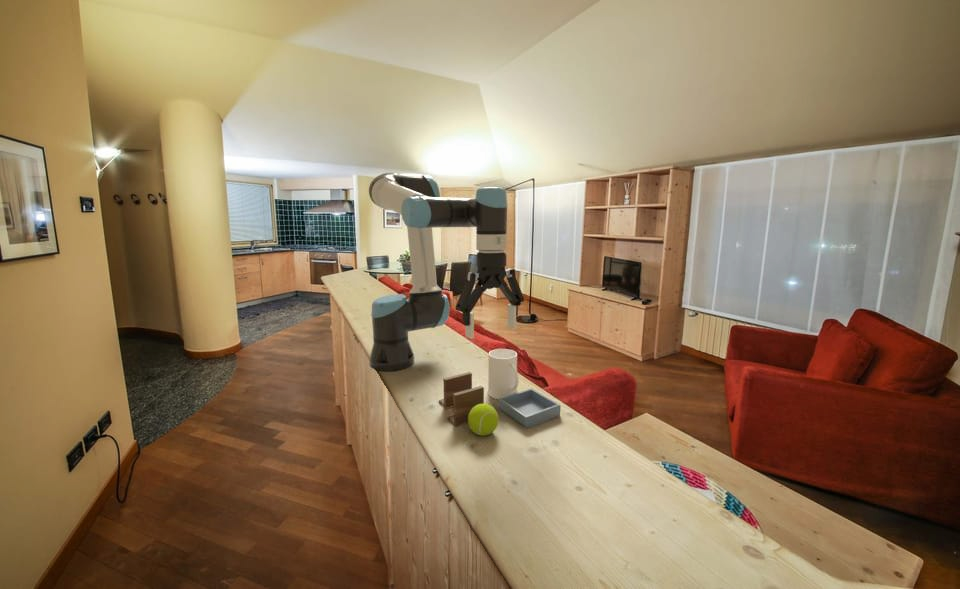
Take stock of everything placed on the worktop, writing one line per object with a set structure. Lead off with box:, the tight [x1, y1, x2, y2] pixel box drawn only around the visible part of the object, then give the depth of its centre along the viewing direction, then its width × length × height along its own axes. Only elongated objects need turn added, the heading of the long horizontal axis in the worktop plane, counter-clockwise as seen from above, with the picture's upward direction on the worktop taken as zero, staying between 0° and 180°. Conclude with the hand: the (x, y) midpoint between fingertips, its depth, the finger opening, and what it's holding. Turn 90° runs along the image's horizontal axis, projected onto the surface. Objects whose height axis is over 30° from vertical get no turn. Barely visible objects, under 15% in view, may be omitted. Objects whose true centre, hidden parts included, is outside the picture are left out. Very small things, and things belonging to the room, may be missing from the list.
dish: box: [497, 388, 561, 430], centre depth 96 cm, size 11×11×3 cm
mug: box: [487, 348, 520, 400], centre depth 105 cm, size 12×8×12 cm
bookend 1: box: [438, 371, 473, 409], centre depth 102 cm, size 4×8×8 cm, turn 123°
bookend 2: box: [447, 385, 485, 427], centre depth 93 cm, size 4×8×8 cm, turn 123°
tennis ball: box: [467, 403, 499, 436], centre depth 87 cm, size 7×7×7 cm
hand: (491, 332), depth 98 cm, fingers open, 13 cm apart
